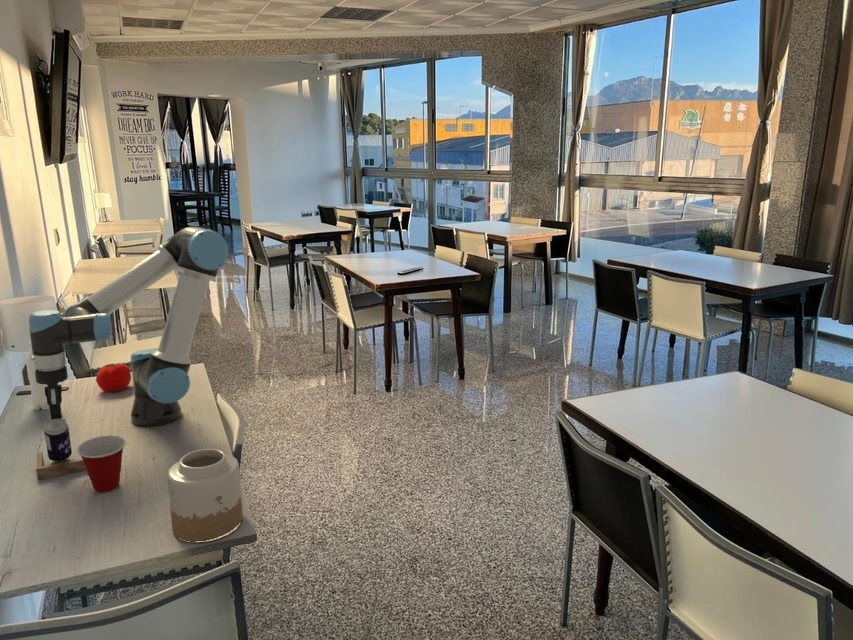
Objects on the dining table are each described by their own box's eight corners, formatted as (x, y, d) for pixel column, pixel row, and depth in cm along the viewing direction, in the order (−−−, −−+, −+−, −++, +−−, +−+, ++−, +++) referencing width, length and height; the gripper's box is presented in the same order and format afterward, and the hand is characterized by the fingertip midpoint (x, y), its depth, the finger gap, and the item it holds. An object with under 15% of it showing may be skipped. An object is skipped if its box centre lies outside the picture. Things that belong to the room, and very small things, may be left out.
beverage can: (61, 466, 167) (56, 434, 161) (43, 459, 168) (38, 427, 161) (76, 452, 172) (72, 421, 166) (59, 446, 173) (54, 414, 166)
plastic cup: (82, 502, 149) (76, 457, 146) (83, 482, 158) (77, 440, 155) (131, 492, 154) (126, 448, 151) (129, 473, 163) (124, 432, 160)
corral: (89, 452, 174) (88, 443, 174) (91, 468, 165) (90, 458, 164) (38, 462, 168) (37, 452, 167) (37, 479, 159) (36, 469, 158)
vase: (165, 519, 142) (158, 453, 138) (230, 500, 150) (226, 437, 146) (182, 552, 130) (175, 481, 126) (252, 529, 138) (248, 462, 134)
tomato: (140, 386, 228) (137, 360, 226) (110, 397, 217) (107, 370, 214) (119, 382, 232) (116, 356, 230) (89, 392, 221) (85, 365, 219)
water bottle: (61, 406, 208) (51, 336, 202) (39, 413, 202) (28, 340, 196) (50, 402, 212) (40, 332, 206) (28, 408, 206) (17, 337, 200)
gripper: (35, 361, 170) (44, 439, 175) (33, 376, 159) (43, 458, 165) (66, 358, 173) (74, 434, 179) (66, 372, 163) (75, 452, 168)
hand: (59, 446), depth 172 cm, fingers closed
